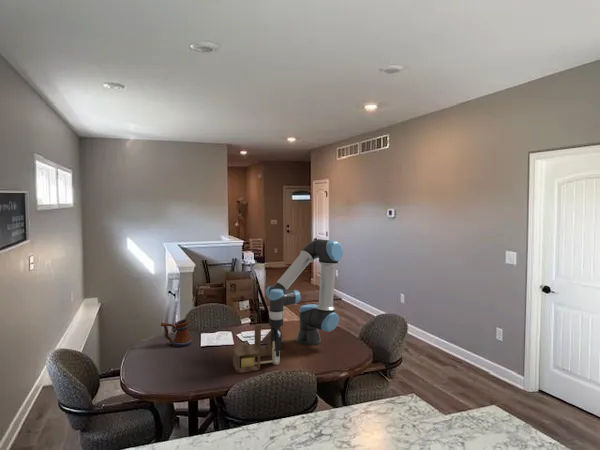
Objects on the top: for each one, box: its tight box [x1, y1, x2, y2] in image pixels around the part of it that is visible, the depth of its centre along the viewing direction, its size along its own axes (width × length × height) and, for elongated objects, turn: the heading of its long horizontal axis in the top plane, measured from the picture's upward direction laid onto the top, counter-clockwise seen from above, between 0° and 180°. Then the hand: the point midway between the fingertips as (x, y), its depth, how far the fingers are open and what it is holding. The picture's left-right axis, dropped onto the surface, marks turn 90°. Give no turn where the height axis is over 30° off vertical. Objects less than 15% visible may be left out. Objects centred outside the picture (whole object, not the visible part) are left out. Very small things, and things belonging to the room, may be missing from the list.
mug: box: [160, 318, 193, 348], centre depth 258 cm, size 18×12×15 cm, turn 108°
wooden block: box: [254, 323, 273, 358], centre depth 241 cm, size 4×11×18 cm, turn 111°
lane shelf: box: [231, 343, 261, 374], centre depth 224 cm, size 13×12×10 cm
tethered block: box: [240, 341, 280, 368], centre depth 227 cm, size 22×6×12 cm, turn 110°
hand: (275, 360), depth 230 cm, fingers closed on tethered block, 4 cm apart
